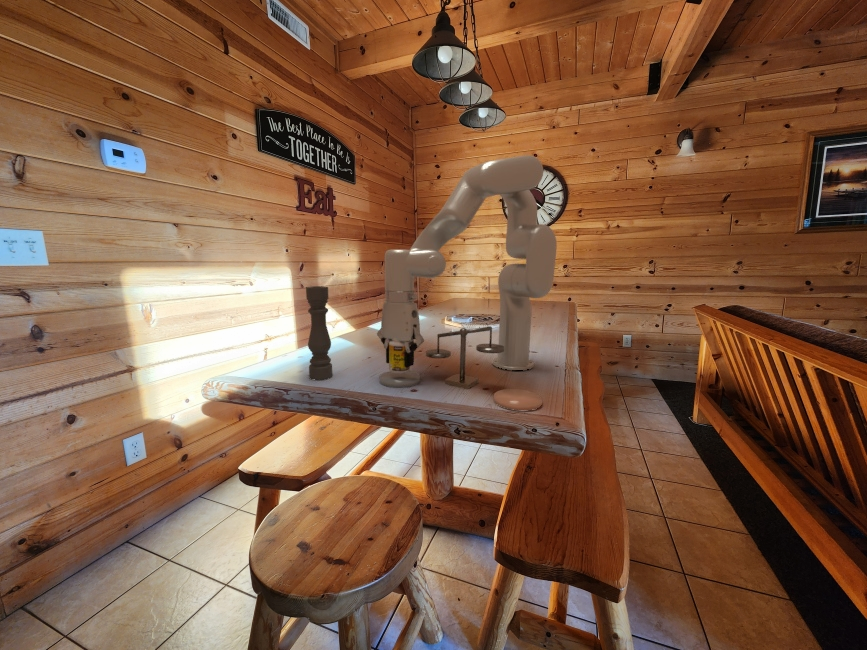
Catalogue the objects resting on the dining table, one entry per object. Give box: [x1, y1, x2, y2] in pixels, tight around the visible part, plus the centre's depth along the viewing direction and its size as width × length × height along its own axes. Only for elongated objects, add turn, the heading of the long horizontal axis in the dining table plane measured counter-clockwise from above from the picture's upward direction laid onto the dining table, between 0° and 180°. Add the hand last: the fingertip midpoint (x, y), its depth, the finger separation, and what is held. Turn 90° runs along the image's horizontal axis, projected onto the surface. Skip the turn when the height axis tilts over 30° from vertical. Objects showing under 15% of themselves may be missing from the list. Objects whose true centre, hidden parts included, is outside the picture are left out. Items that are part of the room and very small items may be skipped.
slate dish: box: [378, 370, 421, 389], centre depth 100 cm, size 11×11×1 cm
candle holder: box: [305, 285, 333, 381], centre depth 100 cm, size 6×6×25 cm
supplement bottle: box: [388, 338, 411, 373], centre depth 99 cm, size 6×6×10 cm
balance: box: [425, 325, 504, 390], centre depth 97 cm, size 7×22×16 cm, turn 57°
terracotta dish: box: [493, 388, 543, 410], centre depth 86 cm, size 11×11×1 cm
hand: (399, 363), depth 99 cm, fingers closed on supplement bottle, 5 cm apart
